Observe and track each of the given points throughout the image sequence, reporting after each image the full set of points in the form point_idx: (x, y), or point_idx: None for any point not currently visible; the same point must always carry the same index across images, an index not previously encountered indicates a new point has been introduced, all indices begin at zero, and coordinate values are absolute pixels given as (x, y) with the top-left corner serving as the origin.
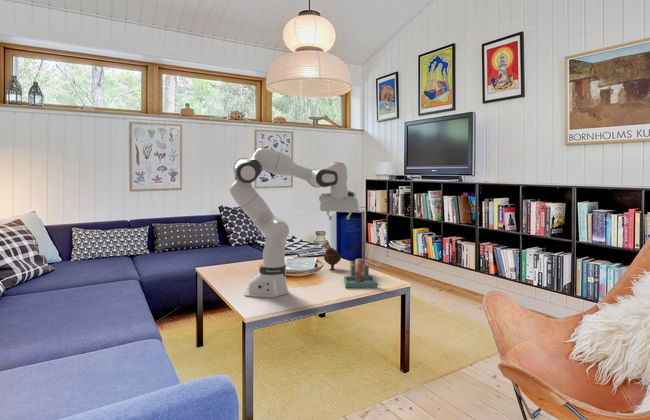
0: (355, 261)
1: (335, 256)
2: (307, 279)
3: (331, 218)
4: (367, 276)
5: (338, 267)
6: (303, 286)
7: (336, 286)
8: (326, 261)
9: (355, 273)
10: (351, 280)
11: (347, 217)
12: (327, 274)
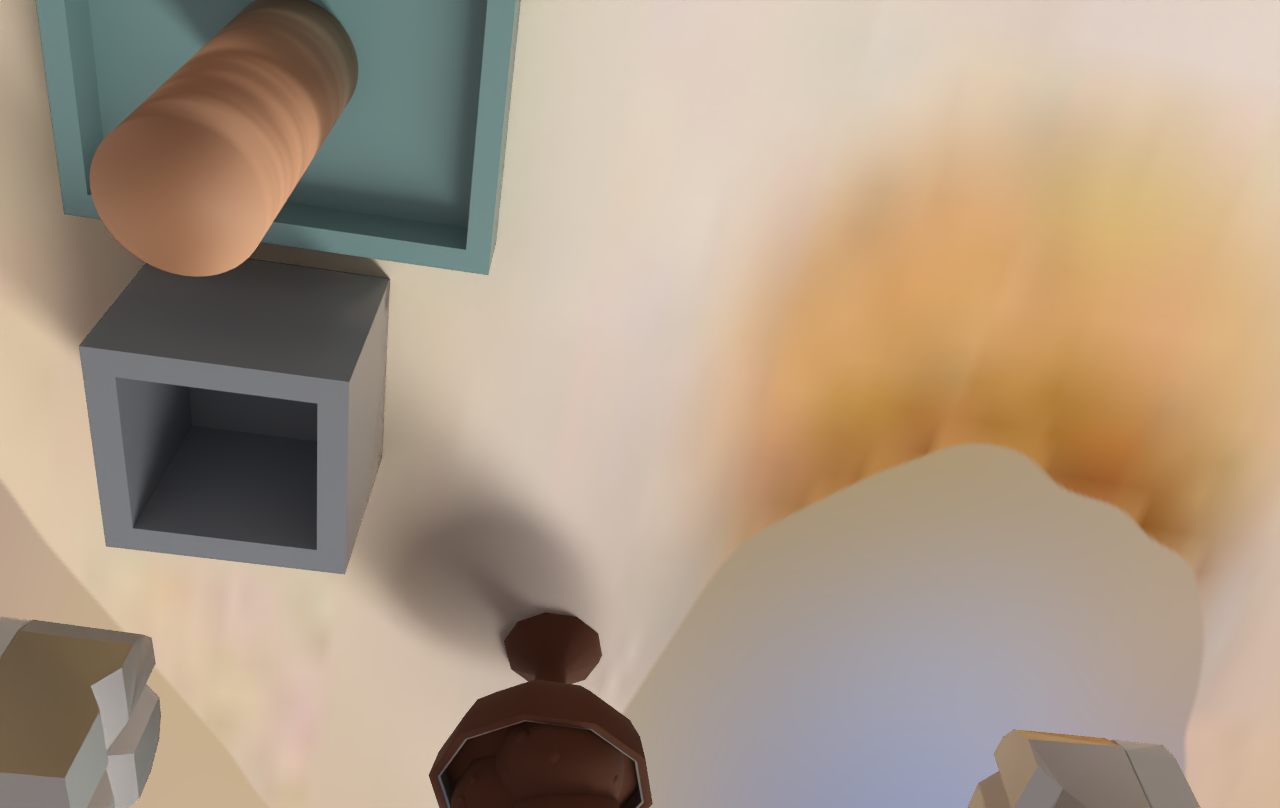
0: (274, 196)
1: (513, 747)
2: (919, 404)
3: (1038, 772)
4: None
5: None
6: (1068, 123)
7: (639, 33)
8: (627, 719)
9: (326, 114)
10: (397, 199)
11: (43, 710)
12: (636, 546)
